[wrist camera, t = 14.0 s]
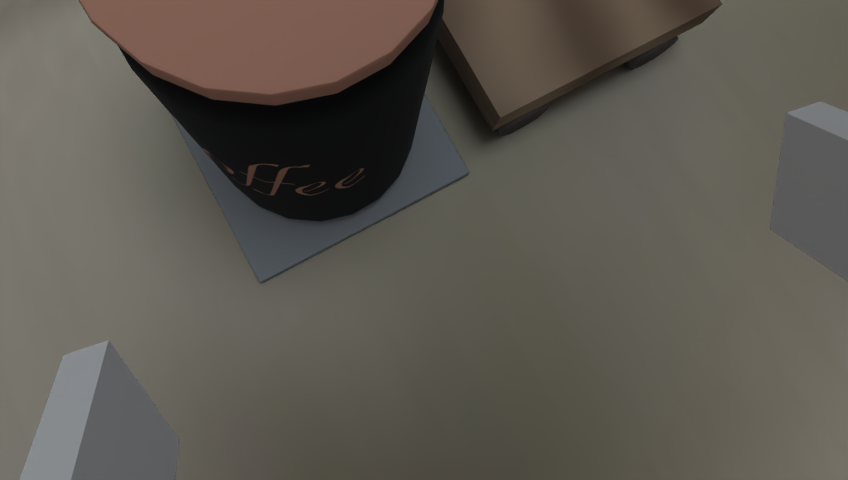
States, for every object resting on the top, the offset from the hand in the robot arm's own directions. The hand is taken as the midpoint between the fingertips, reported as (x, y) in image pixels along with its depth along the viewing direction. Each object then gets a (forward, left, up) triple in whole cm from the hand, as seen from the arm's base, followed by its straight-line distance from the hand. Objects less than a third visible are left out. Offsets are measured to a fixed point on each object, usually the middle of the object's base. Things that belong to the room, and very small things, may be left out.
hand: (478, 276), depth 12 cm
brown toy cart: (-16, -11, -22) cm, 29 cm away
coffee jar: (-1, -11, -21) cm, 24 cm away
